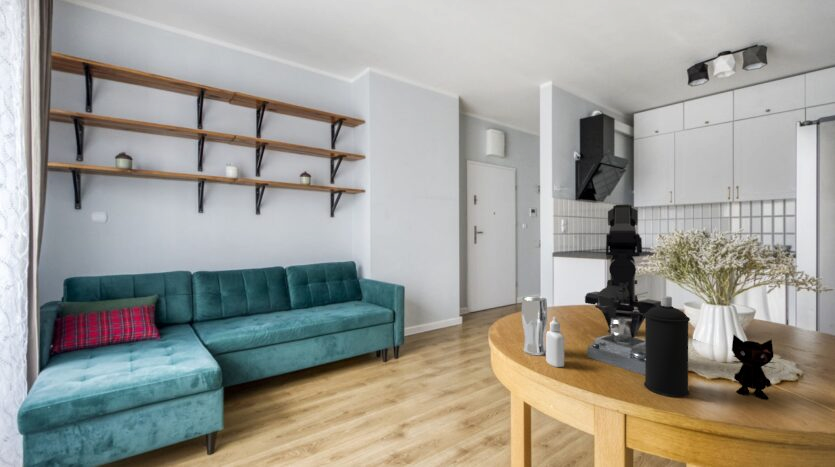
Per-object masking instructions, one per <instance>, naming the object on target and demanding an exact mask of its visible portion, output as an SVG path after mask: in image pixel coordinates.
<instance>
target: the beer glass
mask: <svg viewBox="0 0 835 467" xmlns="http://www.w3.org/2000/svg"><path fill="white" fill-rule="evenodd" d="M521 299H522V301H521V323H522V327H523V334H524V344H523V353H525V354H527V355H529V356H530V355H531V356H543V355H546V342H545V339H546V332H547V331H546V330H547V325H548V312H549V311H548V302H547V301H548V300H547V298H545V297H541V296H524V297H522V298H521Z"/></svg>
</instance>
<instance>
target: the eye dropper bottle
mask: <svg viewBox="0 0 835 467" xmlns="http://www.w3.org/2000/svg"><path fill="white" fill-rule="evenodd" d="M557 320H558V319H557V317H556V316H553V317H552V321H550V322H549V330H547V331H545V349H546V353H545V360H546V362H547V364H549V366H550V365H551V367H552V366H553V367H555V368H561V367H562V368H563V367H565V336H564V335H563V333H562V332H561V323H560V322H559V321H557Z"/></svg>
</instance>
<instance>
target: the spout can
mask: <svg viewBox="0 0 835 467" xmlns="http://www.w3.org/2000/svg"><path fill="white" fill-rule="evenodd" d="M631 324H632V319H631V318H628V317H611V325H610V328H611V332H610V334H611V339H612V340H614V341H618V342H625V343H630V342H634V337H632V335H631Z"/></svg>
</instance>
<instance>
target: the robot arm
mask: <svg viewBox="0 0 835 467" xmlns="http://www.w3.org/2000/svg"><path fill="white" fill-rule="evenodd" d="M638 212H639V211H638V210H637V209H635V208H633V206H632V204H627V203H626V204H624V203H623V204H614V205H613V208H611V209H610V210H607V226H608V227H609V226H610V227H609V230H608V231H609V232H608V233H606V237H605V239H606V240H605V244H606V245H605V255H606V256H612V257H611V258H610V259H609V260H610V262H609V263H610V264H609V274H610V275H609V277H610V279H608V280H607V282H606V287H604V288H602V289H601V290H600V291H592V292H587V293H586V294H585V296H584V303H585V304H588V305H595V306H594V307H595V308H596V309H598V310H600V312H601V313H602V314H603V317H604V319H605V321H606V324H607V326H608V330H607V333H611V328H610V325H611V317H628V318H631V319H632V324H631V335H632V337H635V338H636V336H637V334H638V331H639V330H640V328H641V326H642V324H643V322H644V321H645V316H644V314H645V313H646V312H648V310H650V309H651V308H654V307H658V306H660V305H661V300H657V299H656V300H655V299H650V298H649V299H644V300H639V299H638V295H636V293H635V292H636V288H635V286H636V285H638V280H637V279H635V277H636V276H635V275H636V272H637V270H636V262H635V261H636V259H634V257H640V254H642V253H643V244H642V243H643V242H642V237H641V236H640V233H637V232H636V231H637V230H636V226H638V221H639V219H638Z"/></svg>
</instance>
